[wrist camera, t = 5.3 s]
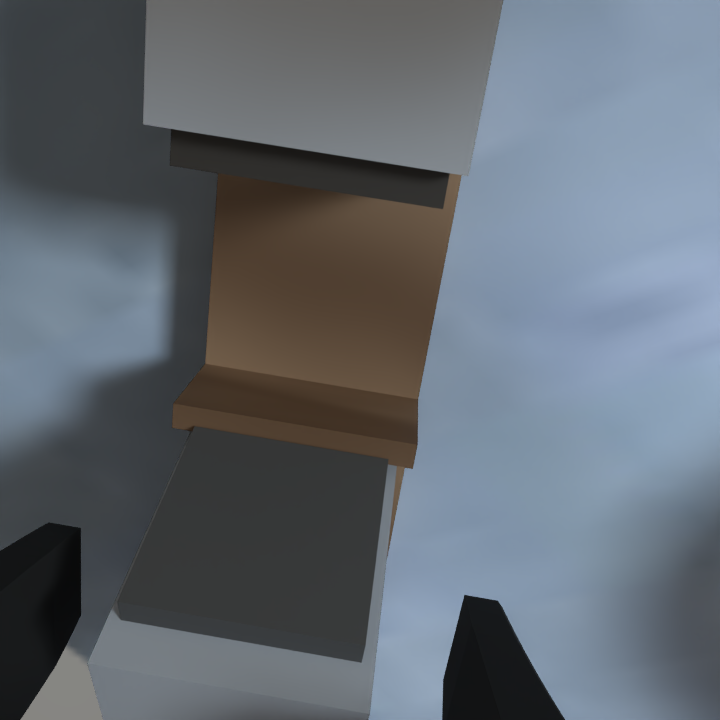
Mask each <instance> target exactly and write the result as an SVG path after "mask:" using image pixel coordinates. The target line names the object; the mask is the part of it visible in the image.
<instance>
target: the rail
mask: <svg viewBox="0 0 720 720" xmlns="http://www.w3.org/2000/svg"><path fill="white" fill-rule="evenodd" d="M502 4H503V0H146V34H145V71H144V107H143V124H144V125H150V126H156V127H163V128H169V129H171V151H170V166H176V167H183V168H189V169H195V170H201V171H208V172H214V173H218V182H217V197H216V212H215V227H214V241H213V256H212V271H211V286H210V301H209V316H208V331H207V345H206V360H205V365H204V366H203V367H202V368H201V370H200V371H199V372H198V373H197V375H196V376H195V377H194V378H193V380H192V381H191V382H190V383H189V385H188V386H187V387H186V388H185V390H184V391H183V392H182V393H181V395H180V396H179V397H178V398H177V400H176V401H175V402H174V403H173V419H172V428H176V429H182V430H188V431H193V429H194V427H195V426H196V427H202V428H208V429H214V430H220V431H226V432H231V433H237V434H243V435H249V436H255V437H261V438H267V439H273V440H279V441H284V442H290V443H296V444H302V445H308V446H314V447H320V448H326V449H331V450H337V451H343V452H349V453H355V454H361V455H367V456H373V457H379V458H384V459H389V460H388V465H394V466H397V470H396V479H395V488H394V497H393V506H392V515H391V524H390V534H389V543H388V551H389V546H390V541H391V535H392V530H393V525H394V520H395V515H396V510H397V505H398V499H399V494H400V489H401V484H402V479H403V474H404V469H405V468H411V469H413V465H414V460H415V455H416V450H417V442H418V397H419V391H420V386H421V381H422V376H423V371H424V366H425V361H426V355H427V350H428V345H429V340H430V335H431V330H432V325H433V319H434V314H435V309H436V304H437V299H438V294H439V289H440V283H441V278H442V273H443V268H444V263H445V258H446V253H447V248H448V242H449V237H450V232H451V227H452V222H453V217H454V212H455V206H456V201H457V196H458V191H459V186H460V181H461V176H462V175H464V176H469V171H470V165H471V160H472V155H473V150H474V145H475V140H476V135H477V130H478V125H479V120H480V115H481V110H482V105H483V100H484V95H485V90H486V85H487V80H488V75H489V70H490V65H491V60H492V54H493V49H494V44H495V39H496V34H497V29H498V24H499V19H500V14H501V9H502ZM387 556H388V552H387Z"/></svg>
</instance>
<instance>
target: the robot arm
mask: <svg viewBox="0 0 720 720" xmlns="http://www.w3.org/2000/svg"><path fill="white" fill-rule="evenodd" d="M80 616H81V528H77V527H71V526H65V525H60V524H54V523H47V524H45V525H43V526H42V527H40V528H38V529H36V530H35V531H33V532H31V533H30V534H28V535H26V536H24V537H23V538H21V539H19V540H18V541H16V542H14V543H13V544H11V545H10V546H8V547H6V548H5V549H3V550H1V551H0V720H20V719H21V718H22V716H23V715H24V713H25V712H26V710H27V709H28V707H29V706H30V704H31V703H32V701H33V700H34V698H35V697H36V695H37V694H38V692H39V691H40V689H41V688H42V686H43V685H44V683H45V682H46V680H47V678H48V677H49V675H50V673H51V672H52V671H53V669H54V667H55V666H56V664H57V662H58V660H59V658H60V656H61V654H62V652H63V651H64V649H65V647H66V645H67V643H68V641H69V639H70V637H71V635H72V633H73V631H74V628H75V626H76V624H77V622H78V620H79V618H80ZM442 720H565V719H564V717H563V716H562V714H561V713H560V711H559V709H558V708H557V706H556V705H555V703H554V701H553V700H552V698H551V696H550V695H549V693H548V691H547V690H546V688H545V686H544V684H543V683H542V681H541V679H540V678H539V676H538V674H537V673H536V671H535V669H534V667H533V666H532V664H531V662H530V660H529V658H528V656H527V655H526V653H525V651H524V649H523V647H522V645H521V643H520V642H519V640H518V638H517V636H516V634H515V632H514V630H513V628H512V626H511V624H510V622H509V620H508V618H507V616H506V614H505V612H504V610H503V608H502V606H501V605H500V603H499V602H498V601H496V600H490V599H484V598H478V597H473V596H467V595H464V599H463V603H462V607H461V611H460V615H459V619H458V623H457V627H456V631H455V635H454V639H453V643H452V647H451V651H450V655H449V659H448V663H447V667H446V671H445V675H444V679H443V716H442Z"/></svg>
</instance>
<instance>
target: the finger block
mask: <svg viewBox="0 0 720 720" xmlns="http://www.w3.org/2000/svg"><path fill="white" fill-rule="evenodd" d="M388 460H389V459H384V458H379V457H373V456H367V455H361V454H355V453H349V452H343V451H337V450H331V449H326V448H320V447H314V446H308V445H302V444H296V443H290V442H284V441H279V440H273V439H267V438H261V437H255V436H249V435H243V434H237V433H231V432H226V431H220V430H214V429H208V428H202V427H196V426H195V427H194V429H193V431H191V432H190V434H189V436H188V438H187V441H186V443H185V445H184V447H183V450H182V452H181V454H180V456H179V459H178V461H177V463H176V465H175V468H174V470H173V472H172V474H171V477H170V479H169V481H168V483H167V486H166V488H165V490H164V492H163V495H162V497H161V499H160V501H159V504H158V506H157V508H156V510H155V512H154V515H153V517H152V519H151V521H150V524H149V526H148V528H147V530H146V533H145V535H144V537H143V539H142V542H141V544H140V546H139V548H138V551H137V553H136V555H135V557H134V560H133V562H132V564H131V566H130V569H129V571H128V573H127V575H126V578H125V580H124V582H123V584H122V587H121V589H120V591H119V593H118V596H117V598H116V600H115V602H114V605H113V607H112V609H111V611H110V613H109V616H108V618H107V620H106V622H105V625H104V627H103V629H102V631H101V634H100V636H99V638H98V640H97V643H96V645H95V647H94V649H93V652H92V654H91V656H90V658H89V661H88V663H87V664H88V668H89V671H90V674H91V678H92V682H93V685H94V688H95V692H96V696H97V699H98V703H99V706H100V710H101V713H102V717H103V720H368V718H369V715H370V707H371V697H372V688H373V679H374V670H375V661H376V652H377V643H378V634H379V625H380V615H381V606H382V597H383V588H384V579H385V570H386V561H387V552H388V543H389V534H390V524H391V515H392V506H393V497H394V488H395V479H396V470H397V466H394V465H388Z"/></svg>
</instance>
